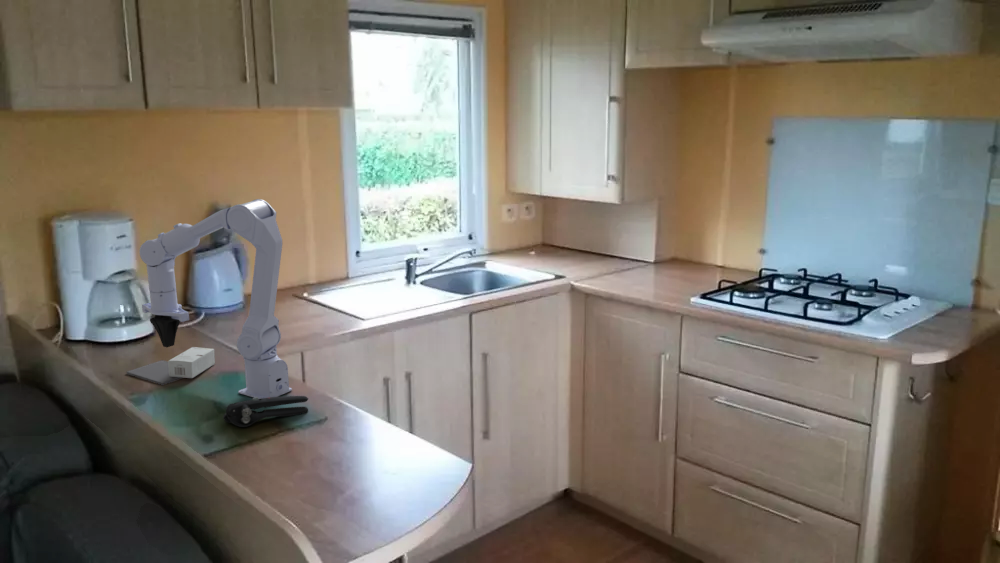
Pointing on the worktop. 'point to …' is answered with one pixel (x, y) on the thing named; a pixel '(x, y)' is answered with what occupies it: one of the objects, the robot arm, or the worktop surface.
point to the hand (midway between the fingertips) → (168, 345)
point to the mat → (154, 373)
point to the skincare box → (191, 362)
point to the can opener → (246, 417)
